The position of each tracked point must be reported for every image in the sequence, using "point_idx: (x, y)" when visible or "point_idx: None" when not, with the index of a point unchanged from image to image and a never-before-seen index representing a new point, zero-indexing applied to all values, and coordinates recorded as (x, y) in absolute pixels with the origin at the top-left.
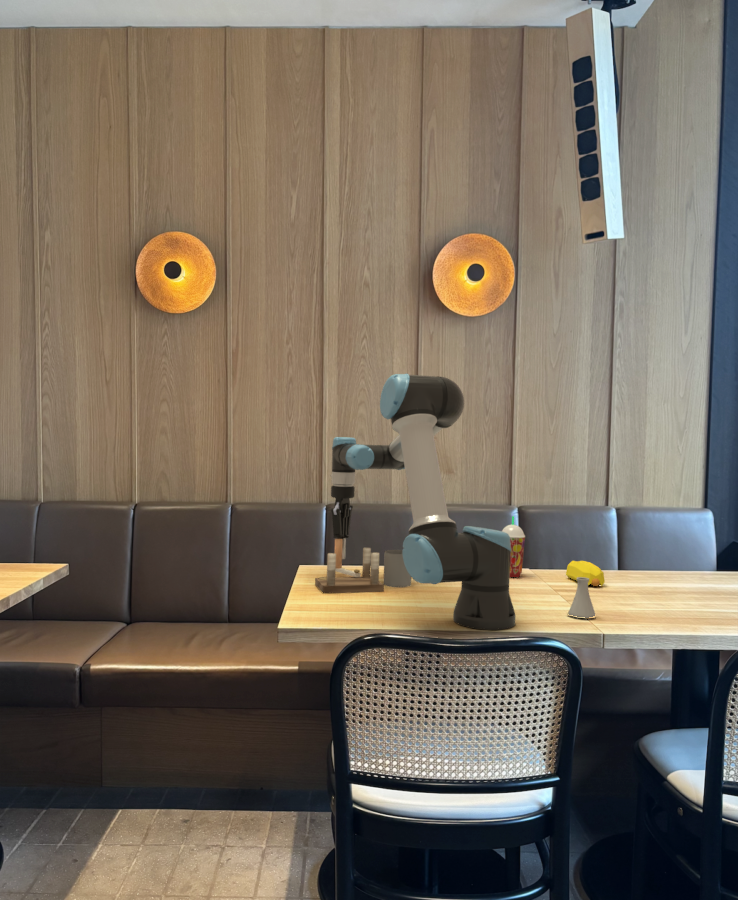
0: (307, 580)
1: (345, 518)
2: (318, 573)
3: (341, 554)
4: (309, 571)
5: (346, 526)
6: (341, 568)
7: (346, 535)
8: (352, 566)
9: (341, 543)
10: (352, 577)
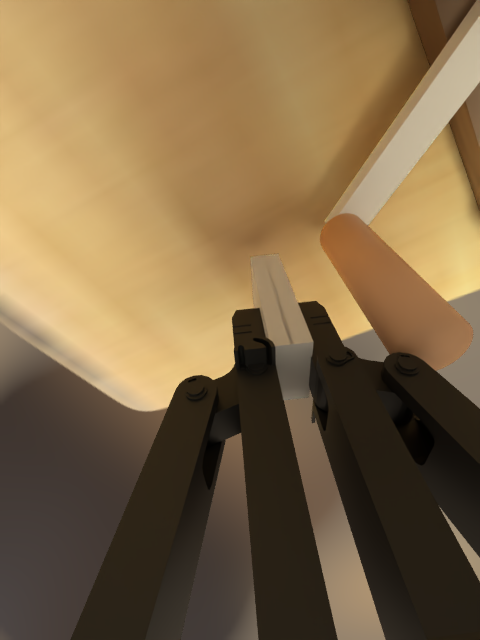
0: None
1: (333, 628)
2: None
3: (385, 248)
4: None
5: (270, 466)
6: (356, 207)
7: (260, 368)
8: (10, 291)
9: (436, 295)
10: None
